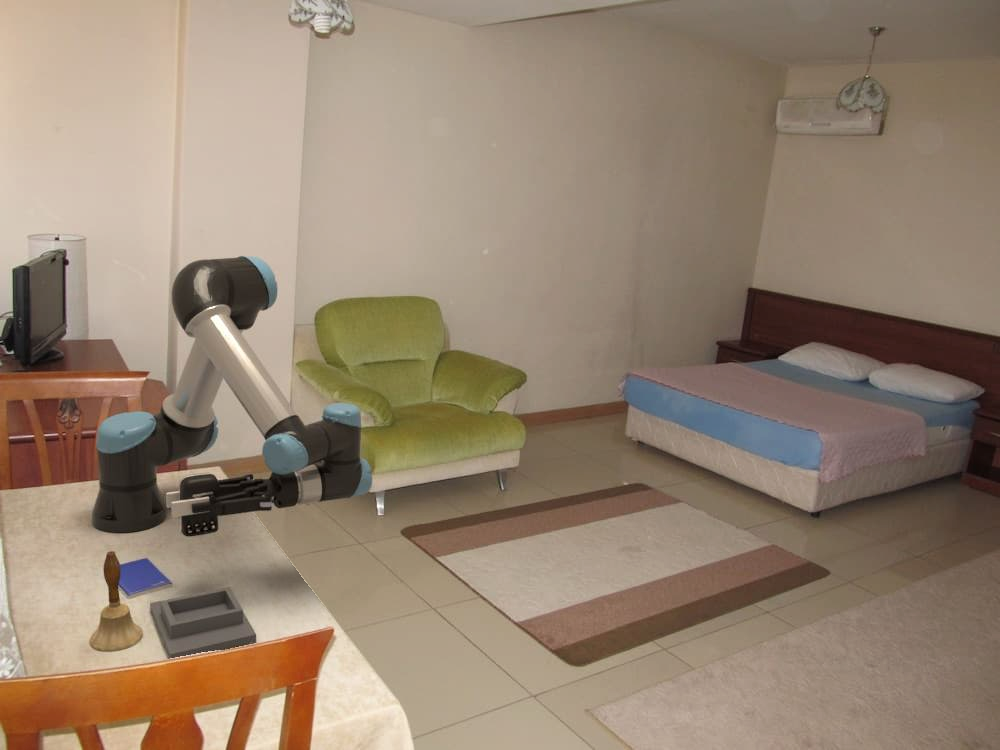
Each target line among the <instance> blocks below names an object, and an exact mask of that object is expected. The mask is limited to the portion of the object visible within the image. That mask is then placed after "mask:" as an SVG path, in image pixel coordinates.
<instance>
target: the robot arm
mask: <svg viewBox="0 0 1000 750" xmlns="http://www.w3.org/2000/svg"><path fill="white" fill-rule="evenodd" d="M275 277H276V275H275V274H274V272H273V269H272V268H271V267H270V266H269V264H268V263H267V262H265V260H263V259H261V258H260V257H257V256H245V255H240V256H237V257H228V258H226V257H225V258H224V257H223V258H211V259H198V260H195V261H192V262H190V263H188V264H187V265H185V266H184V267H183V268H182V269H180V271H179V272H178V273H177V275H176V276H175V278H174V280H173V284H172V288H171V304H172V308H173V313H174V314H175V315H174V316H175V318H176V320H177V321H178V323H179V325H180V327H181V329H182V330H183V331H184V333H185V334H186V336H188V337H190V338H194V341H193V343H192V346H191V348H190V350H189V351H190V352H189V353H188V357H187V358H186V362H185V364H184V366H183V370H182V371H181V375H180V377H179V379H178V382H177V385H176V388H175V391H174V393H172V394H170V395H168V396H166V397H165V399H163V402H162V404H161V407H160V409H159V412H157V414H156V413H155V414H152V413H150V412H147V411H139V410H138V411H130V412H127V411H125V412H120V413H118V414H117V413H116V414H114V415H112V416H110V417H107V418H106V419H105V420H104V419H103V421H102V422H101V423H100V424H99V425H98V427H97V433H96V434H97V435H96V442H95V445H96V449H97V462H98V463H97V464H98V479H99V481H98V483H99V489H98V493H97V495H96V499H95V503H94V505H93V509H92V512H91V516H92V517H91V518H92V519H91V520H92V525H93V526H94V527H95V528H96V529H98V530H101V531H105V532H109V533H110V532H111V533H132V532H133V533H134V532H139V531H144V530H147V529H150V528H153V527H155V526H158V525H160V524H161V523H162V522H164V520H165V519H166V518H167V509H168V508H171V517H172V518H176V517H180V516H185V515H191V514H198V513H204V512H210V511H211V513H217V516H218V517H223V516H230V515H238V514H239V515H240V514H245V513H253V512H259V511H260V512H261V511H262V512H263V511H264V512H265V511H266V512H269V511H272V510H273V509H272V508H273V507H272V504H273V505H274V506H275V508H276V509H287V508H292V507H294V506H296V505H299V506H301V505H306V506H310V505H311V504H314V503H320V502H321V503H322V502H328V501H335V500H342V499H351V498H355V497H358V496H363V495H366V494H367V493H368V492H370V491H371V488H372V485H373V476H372V468H371V465H370V463H369V461H367V460H366V459H364V458H361V440H362V439H361V438H362V434H361V433H362V415H361V410H360V407H358V406H357V405H355V404H352V403H346V402H345V403H344V402H336V403H335V402H334V403H330V404H327V405H325V407H324V408H323V411H322V416H321V418H322V419H321V420H319V421H315V422H312V423H309V424H305V423H304V422H303V420H302V419H301V418H300V417H299V415H298V413H297V412H296V411H295V409H294V408H293V406H292V405H291V403H290V402H289V401H288V399H287V398H286V397H285V395H284V394H283V392H282V391H281V389H280V387H279V386H278V384H276V382H275V380H274V379H273V376H271V374H270V373H269V372H268V370H267V369H266V367H265V366H264V365H263V363H262V361H261V360H260V359H259V357H258V356H257V354H256V353H255V351H254V350H253V349H252V347H251V345H250V344H249V343H248V340H246V338H245V336H244V335H243V332H244V331H248V330H250V329H251V328H253V326H254V324H255V322H256V320H257V317H258V316H259V312H260V311H266V310H268V309H270V308H272V307H273V305H274V304H275V303H276V300H277V297H278V282H277V280H276V278H275ZM223 380H224V381H225V382H226V384H227V386H228V387H229V388H230V390H231V391H232V393H233V394H234V396H235V397H236V399H237V400H238V401H239V403H240V404H241V406H242V407H243V409H244V410H245V412H246V413H247V415H248V416H249V417H250V419H251V420H252V422H253V424H254V425H255V426H256V428H257V429H258V430H259V432H260V434H261V435H262V436H263V438H264V440H265V441H264V442H263V445H262V449H261V450H262V451H261V452H262V453H261V454H262V457H263V458H264V460H263V462H264V464H265V465H266V467H267V468H268V469H269V470H270V471H271V474H270V476H269V478H255V479H254V474H252V473H249V474H245V475H243V476H242V475H241V476H236V477H230V478H225V479H217V480H218V482H219V488H220V497H216V498H215V496H214V495H211V496H210V501H209V497H202V498H195V499H188V500H181V501H179V490H178V491H169V492H166V494H165V496H166V499H164V497H163V496H162V493H161V490H160V488H159V486H158V479H157V477H158V476H157V469H158V468H160V467H163V466H166V465H170V464H173V463H176V462H179V461H183V460H186V459H190V458H194V457H197V456H200V455H202V454H204V453H205V452H207V451H209V450H210V449H211V448H212V447H213V446H214V444H215V443H216V441H217V439H218V436H219V435H218V434H219V428H218V426H217V425H218V423H219V422H218V419H217V415H215V410H214V408H213V404H214V402H215V400H216V397H217V394H218V393H219V390H220V387H221V385H222V383H223ZM319 462H322V463H320V464H319ZM317 463H318V464H317ZM165 500H166V503H165Z"/></svg>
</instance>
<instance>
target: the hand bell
mask: <svg viewBox="0 0 1000 750" xmlns="http://www.w3.org/2000/svg"><path fill="white" fill-rule="evenodd" d="M120 564H121V563H120V561H119V559H118V556H117V554H116V552H115V551H107V552H106V557H105V559H104V563H103V576H104V581H105V583H106V584H107V585H106V586H107V587H108V589H107V590H108V603H109V604H108V605H107V606H105V607H103V608H102V610H101V612H100V619H99V624H98V627H97V629H96V630H95V631H94V632H93V633H92V634H91V636H90V638H89V645H90V646H91V647H92V648H93V649H95V650H97V651H99V652H100V651H101V652H117V651H122V650H126V649H128V648H130V647H133V646H134V645H136V644H138V643H139V641H141V639H142V638H143V635H144V631H143V629H142V627H141V626H140V625H138V624H136V623H135V622H134V621H133V617H132V615H131V609H130V607H129V605H127V604H126V603H121V598H120V589H119V588H118V585H119V580H120V575H121V569H120Z"/></svg>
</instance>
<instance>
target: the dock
mask: <svg viewBox="0 0 1000 750" xmlns="http://www.w3.org/2000/svg"><path fill="white" fill-rule="evenodd" d="M149 607H150V608H149V610H150V613H151V616H152V618H153V621H154V624H155V626H156V628H157V631H158V633H159V635H160V638H161V642H162V643H163V646H164V649H165V651H166V654H167V656H168V659H169V658H175V657H180V656H186V655H191V654H196V653H201V652H208V651H215V650H221V651H223V650H222V649H225V650H229V649H232V647H234V648H237V646H238V647H242V646H245V645H251V644H254V643H257V633H256V631H255V629H254V628H253V627H252V625H251V623H250V621H249V620H248V618H247V616H246V614H245V613H244V609H243V607H242V606H241V604H240V602H239V601H238V599H237V597H236V596H235V594H234V592H233V591H232V589H231V587H230V586H228V587H223V588H218V589H213V590H208V591H202V592H199V593H193V594H188V595H183V596H177V597H174V598H168V599H167V598H166V599H163V600H158V601H153V602H152V601H151V602H150V603H149ZM251 642H252V643H251ZM241 645H242V646H241ZM228 648H229V649H228Z"/></svg>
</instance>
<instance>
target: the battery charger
mask: <svg viewBox="0 0 1000 750" xmlns="http://www.w3.org/2000/svg"><path fill="white" fill-rule="evenodd" d="M218 480H219V479H218V478H217V476H216V475H215V474H214V473H212V472H202V473H194V474H189V475H184V476H183V477H181V478H180V479H179V482H178V491H179V501H181V500H188V499H195V498H202V497H209V501H210V496H211V495H214V496H215V498H216V497H220V488H219V482H218ZM218 517H219V516H217V513H211V511H210V512H204V513H198V514H191V515H185V516H179V518H180V533H181V534H182V535H183V536H184V537H188V538H189V537H198V536H203V535H208V534H214V533H216V532H218V531H219V519H218Z"/></svg>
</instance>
